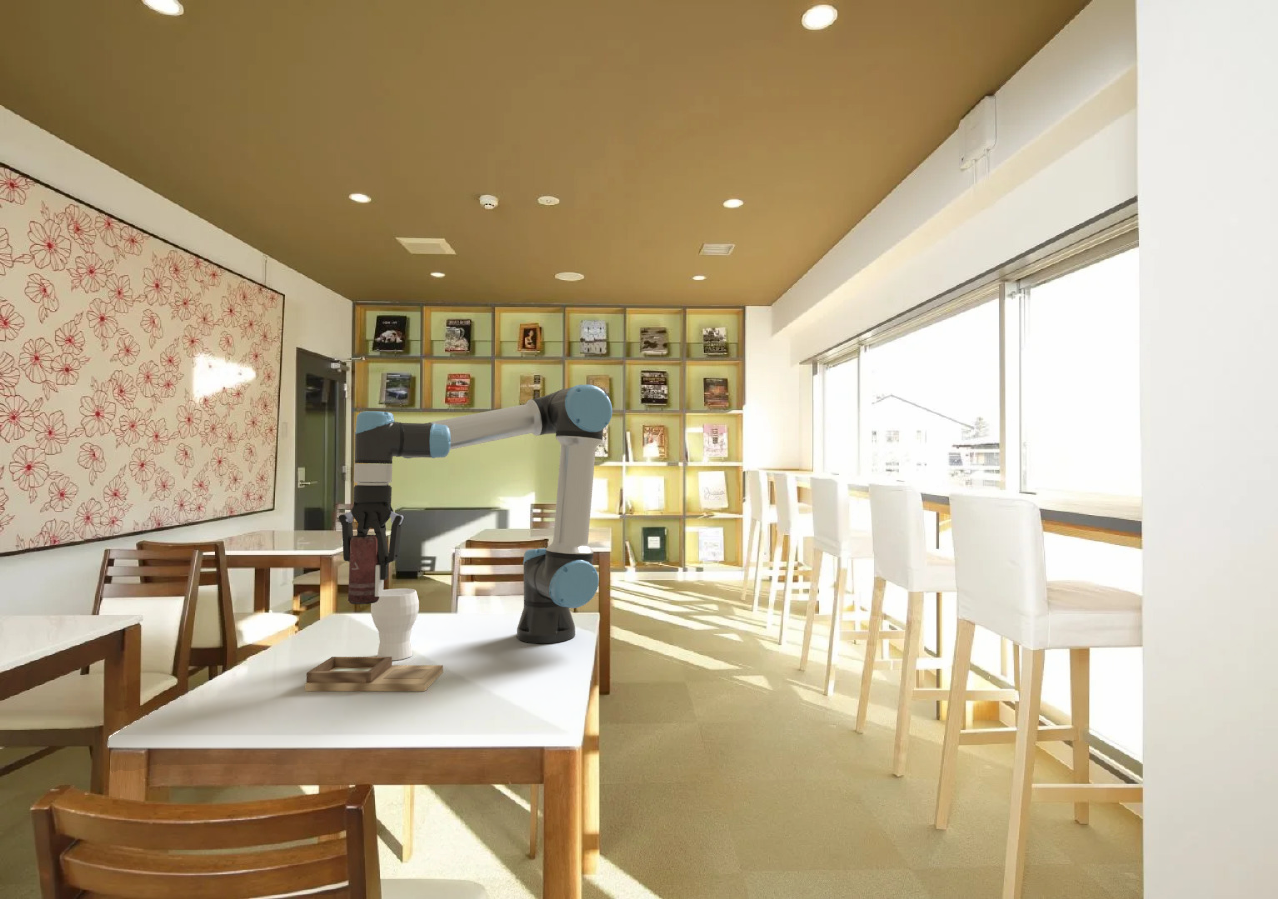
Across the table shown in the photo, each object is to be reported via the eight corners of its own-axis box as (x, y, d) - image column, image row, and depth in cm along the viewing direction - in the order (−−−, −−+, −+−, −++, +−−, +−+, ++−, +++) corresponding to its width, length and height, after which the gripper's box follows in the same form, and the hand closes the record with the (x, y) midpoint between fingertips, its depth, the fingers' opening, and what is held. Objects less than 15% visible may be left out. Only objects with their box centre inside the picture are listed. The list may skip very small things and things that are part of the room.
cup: (360, 659, 156) (360, 594, 156) (396, 647, 165) (396, 586, 165) (393, 665, 151) (393, 598, 151) (428, 653, 160) (428, 590, 160)
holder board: (443, 672, 146) (443, 656, 146) (424, 691, 134) (424, 673, 134) (333, 672, 146) (333, 656, 146) (305, 691, 134) (305, 673, 134)
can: (368, 605, 138) (370, 537, 139) (341, 603, 140) (343, 536, 140) (386, 600, 144) (388, 534, 145) (360, 598, 146) (362, 533, 146)
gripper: (417, 484, 146) (414, 592, 146) (342, 483, 146) (339, 591, 146) (404, 485, 139) (401, 599, 138) (326, 483, 139) (322, 597, 138)
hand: (369, 594), depth 142 cm, fingers open, 3 cm apart
